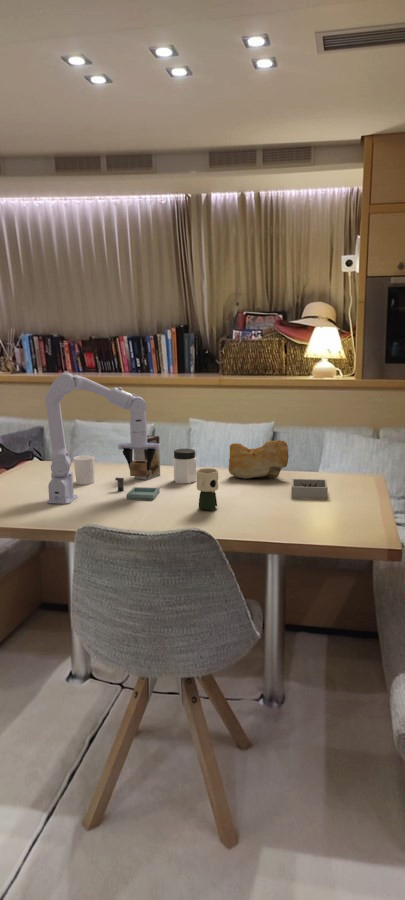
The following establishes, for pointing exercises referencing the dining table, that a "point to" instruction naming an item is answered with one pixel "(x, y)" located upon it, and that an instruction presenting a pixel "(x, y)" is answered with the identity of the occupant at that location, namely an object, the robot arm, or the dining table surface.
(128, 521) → the dining table surface
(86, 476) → the white cup
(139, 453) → the coffee box
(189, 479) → the jar
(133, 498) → the tray
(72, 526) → the dining table surface
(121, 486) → the dark grey rounded piece
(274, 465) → the rough brown rock
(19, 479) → the dining table surface
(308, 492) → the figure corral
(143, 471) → the collar
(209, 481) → the character mug
